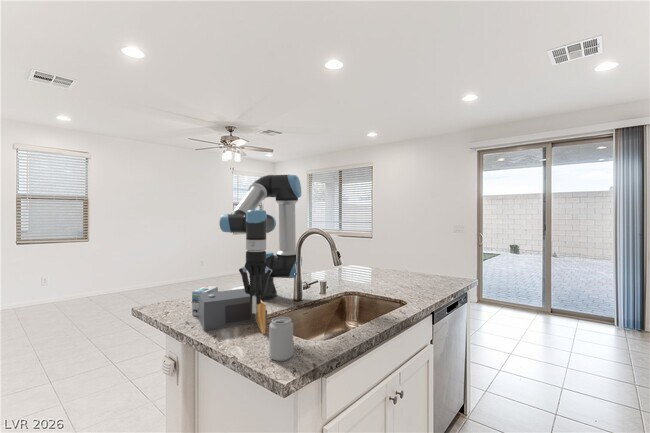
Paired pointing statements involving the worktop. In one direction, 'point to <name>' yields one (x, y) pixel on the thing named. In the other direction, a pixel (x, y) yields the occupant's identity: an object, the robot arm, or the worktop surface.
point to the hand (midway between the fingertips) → (255, 312)
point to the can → (281, 338)
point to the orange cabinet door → (261, 317)
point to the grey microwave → (225, 309)
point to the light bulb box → (196, 297)
